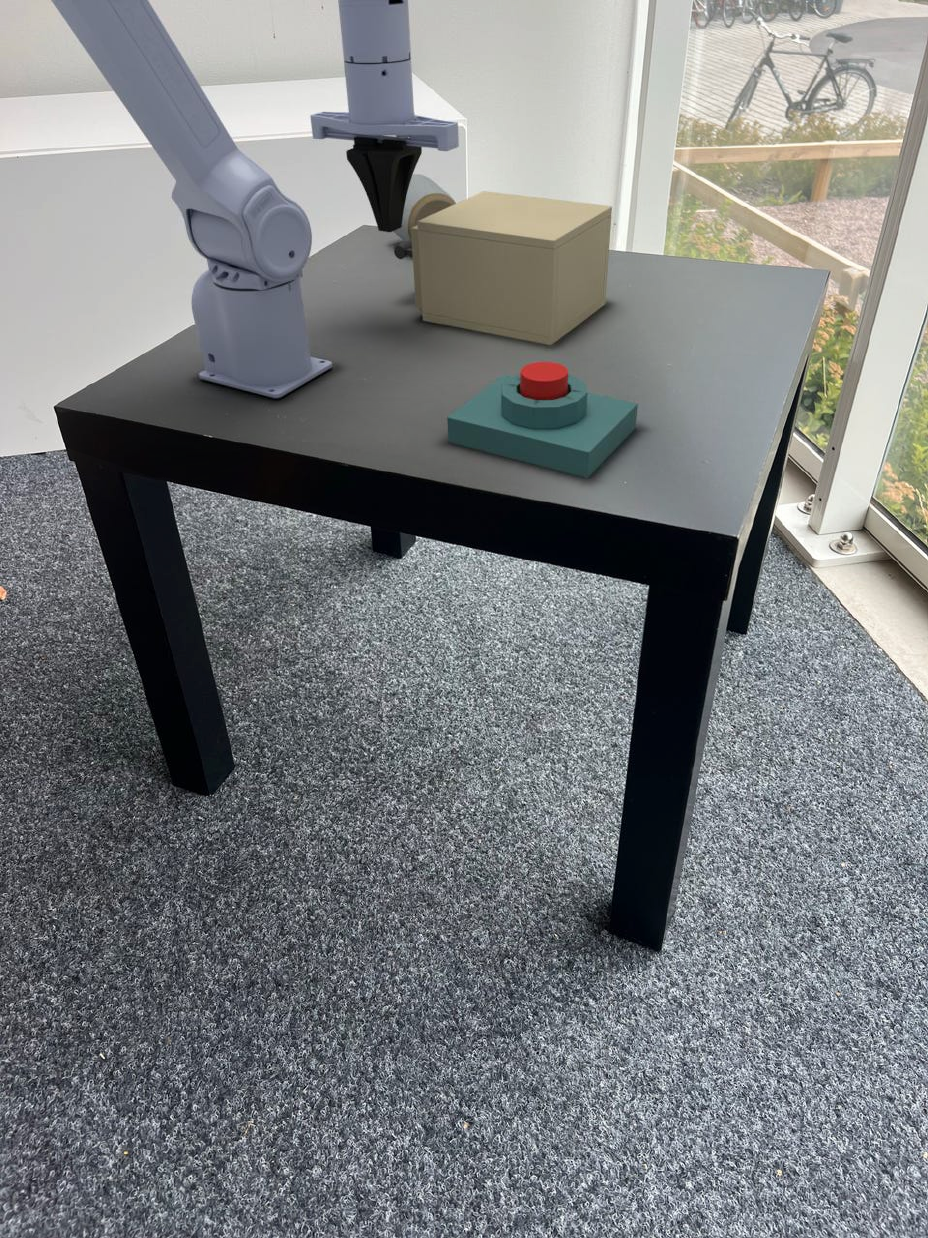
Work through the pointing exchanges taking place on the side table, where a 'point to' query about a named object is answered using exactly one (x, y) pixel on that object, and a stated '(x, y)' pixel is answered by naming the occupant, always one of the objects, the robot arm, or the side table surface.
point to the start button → (544, 381)
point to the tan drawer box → (514, 265)
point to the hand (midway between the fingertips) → (390, 228)
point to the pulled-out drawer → (412, 249)
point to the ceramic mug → (422, 203)
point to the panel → (544, 426)
